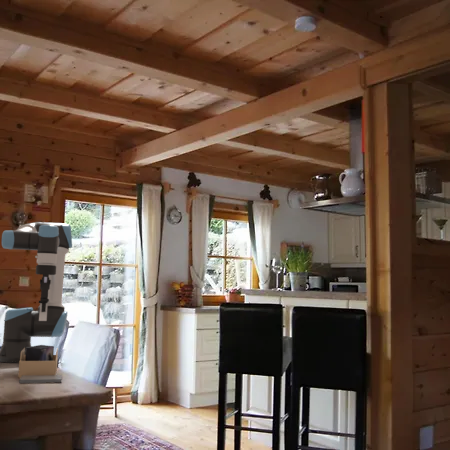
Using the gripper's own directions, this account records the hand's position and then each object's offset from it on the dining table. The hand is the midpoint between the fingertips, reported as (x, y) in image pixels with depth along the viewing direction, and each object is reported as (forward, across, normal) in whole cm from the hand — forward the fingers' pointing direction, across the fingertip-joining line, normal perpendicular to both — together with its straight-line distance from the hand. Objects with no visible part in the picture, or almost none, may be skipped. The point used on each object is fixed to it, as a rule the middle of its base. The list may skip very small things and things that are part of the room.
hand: (42, 319), depth 213 cm
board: (+20, +15, +1) cm, 26 cm away
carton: (+21, -1, 0) cm, 21 cm away
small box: (+21, -1, 0) cm, 21 cm away
